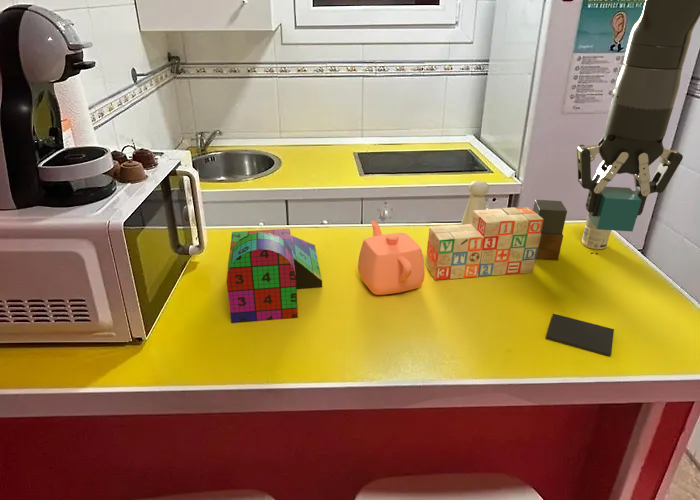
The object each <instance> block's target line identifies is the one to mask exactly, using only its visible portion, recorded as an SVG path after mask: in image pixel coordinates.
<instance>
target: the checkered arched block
mask: <svg viewBox="0 0 700 500" xmlns="http://www.w3.org/2000/svg"><path fill="white" fill-rule="evenodd" d="M230 236H231V238H230V246H229V253H228V263H227V271H226V288H227V296H228V297H227V298H228V305H229V313H230V322H231V324H237V323H238V324H239V323H248V322H263V321H274V320H286V319H288V320H289V319H298V316H299V315H298V313H299V311H298V294H297V293H298V292H297V290H301V289H303V290H304V289H317V288H323V279H322V274H321V268H320V265H319V259H318V255H317V249H316V245H315V244H313V243H310V242H308V241H306V240H304V239H301V238H298V237H297V236H295V235H292V234H291V228H278V229H277V228H276V229H275V228H274V229H260V230H258V229H257V230H244V231H243V230H241V231H231V235H230Z"/></svg>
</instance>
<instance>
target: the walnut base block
mask: <svg viewBox="0 0 700 500" xmlns="http://www.w3.org/2000/svg"><path fill="white" fill-rule="evenodd" d="M563 239H564V234H563V233H562V235H558V234H541V237H540V242H539V246H538V250H537V254H536V259H535V260H547V261H559V257H560V253H561V249H562V244H563Z"/></svg>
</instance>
